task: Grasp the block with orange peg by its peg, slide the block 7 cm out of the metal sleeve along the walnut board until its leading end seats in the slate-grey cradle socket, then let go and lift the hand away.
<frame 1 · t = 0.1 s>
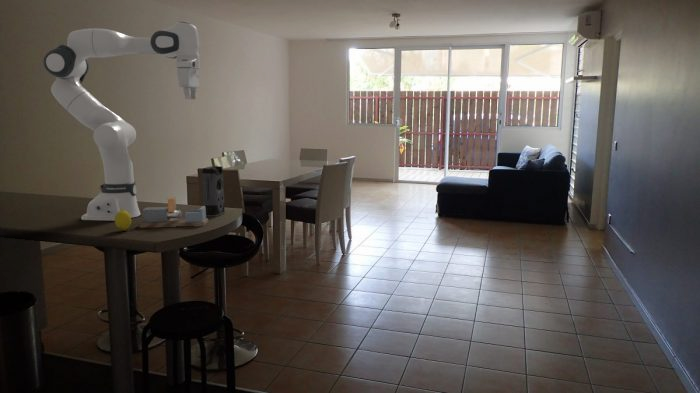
hand: (190, 99, 217), 48 cm above the table, fingers open, 8 cm apart
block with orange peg: (161, 208, 206), point 6 cm above the table, slide at 0.0 cm
electronic device: (214, 215, 225), on the table
socket block: (195, 214, 207), on the bench board, point 4 cm above the table
outer sleeve: (156, 214, 206), on the bench board, point 4 cm above the table
lemon: (124, 231, 197), on the table
bench board: (169, 224, 207), on the table
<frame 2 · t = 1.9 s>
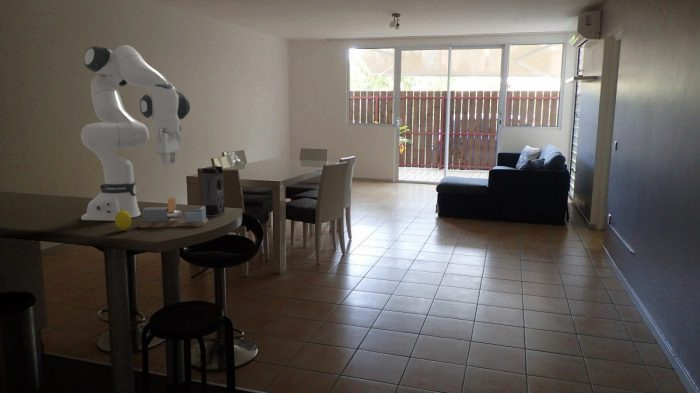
hand: (169, 164, 203), 23 cm above the table, fingers open, 8 cm apart
nothing on the table moved.
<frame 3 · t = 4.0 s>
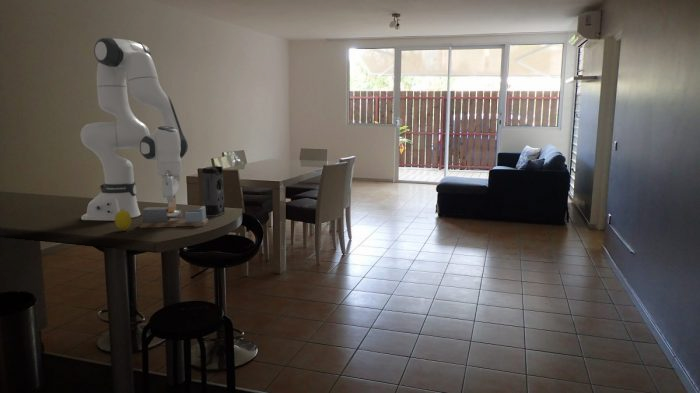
hand: (172, 205, 206), 8 cm above the table, fingers closed on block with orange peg, 4 cm apart
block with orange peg: (161, 208, 206), point 6 cm above the table, slide at 0.0 cm, touching gripper
everything else where it was.
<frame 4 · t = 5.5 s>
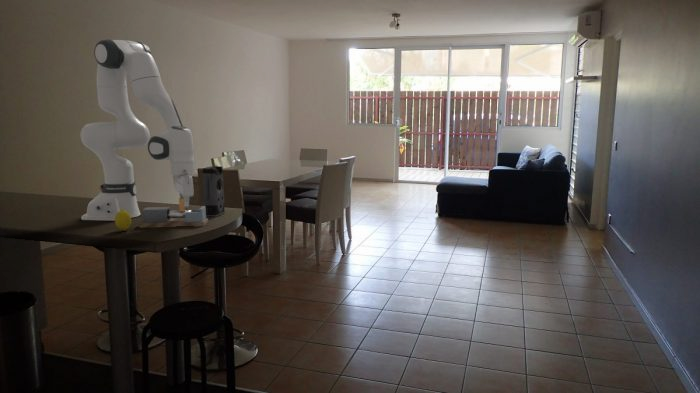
hand: (184, 204, 206), 8 cm above the table, fingers open, 5 cm apart
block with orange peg: (172, 208, 206), point 6 cm above the table, slide at 4.2 cm, touching gripper
everything else where it was.
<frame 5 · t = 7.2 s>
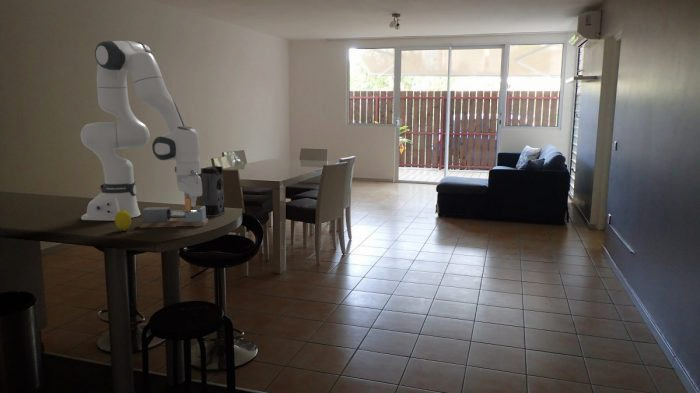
hand: (190, 205, 206), 8 cm above the table, fingers closed on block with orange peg, 4 cm apart
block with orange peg: (178, 208, 206), point 6 cm above the table, slide at 6.4 cm, touching gripper
everything else where it was.
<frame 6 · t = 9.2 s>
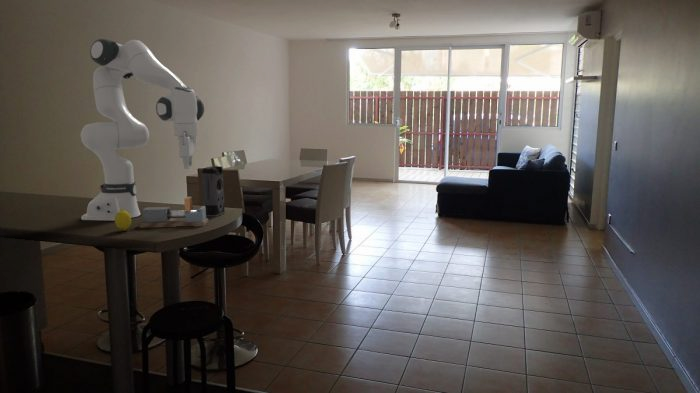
hand: (188, 167, 204), 22 cm above the table, fingers open, 8 cm apart
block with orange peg: (178, 208, 206), point 6 cm above the table, slide at 6.3 cm
everything else where it was.
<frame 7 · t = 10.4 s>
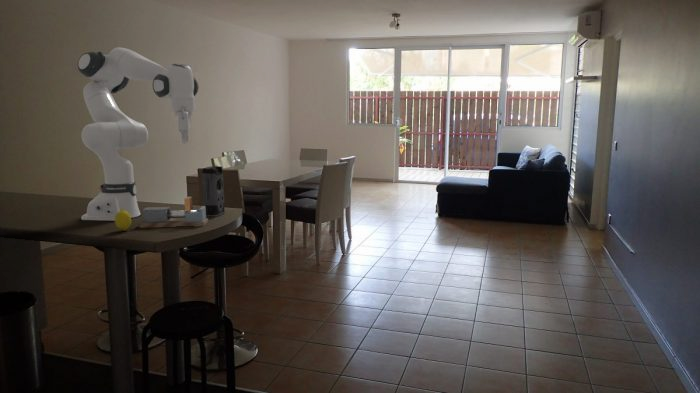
hand: (185, 142, 210), 31 cm above the table, fingers open, 8 cm apart
nothing on the table moved.
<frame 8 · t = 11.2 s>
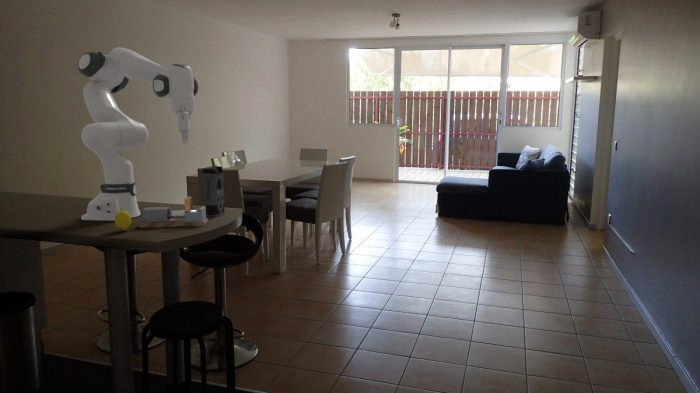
hand: (185, 142, 210), 31 cm above the table, fingers open, 8 cm apart
nothing on the table moved.
at the end: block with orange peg slide at 6.3 cm; the gripper is holding nothing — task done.
